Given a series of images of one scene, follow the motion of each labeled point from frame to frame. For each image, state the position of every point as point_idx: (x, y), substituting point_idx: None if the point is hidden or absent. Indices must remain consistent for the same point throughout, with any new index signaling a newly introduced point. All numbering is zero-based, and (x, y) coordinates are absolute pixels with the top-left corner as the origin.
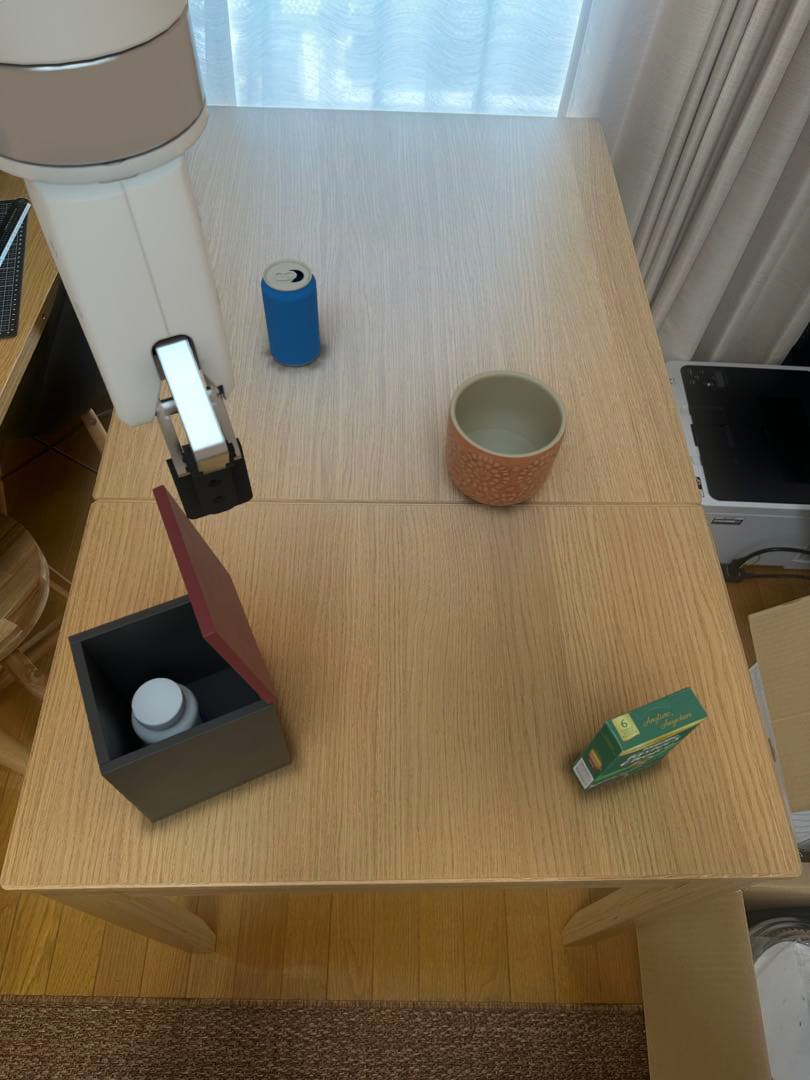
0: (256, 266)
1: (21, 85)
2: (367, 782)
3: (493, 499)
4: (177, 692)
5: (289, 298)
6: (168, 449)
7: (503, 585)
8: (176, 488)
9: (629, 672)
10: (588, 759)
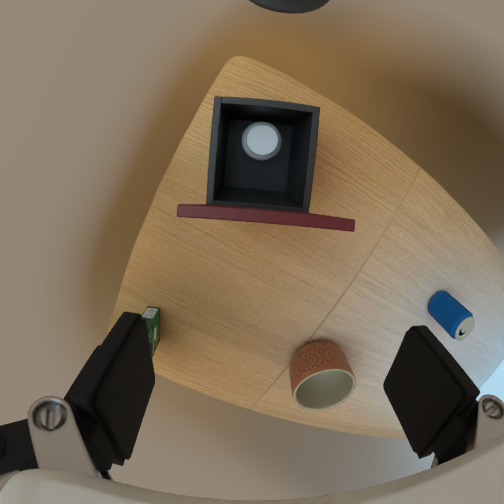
0: (480, 303)
1: None
2: (191, 222)
3: (297, 354)
4: (261, 152)
5: (455, 323)
6: (58, 436)
7: (256, 331)
8: (94, 356)
9: (189, 351)
10: (147, 321)
